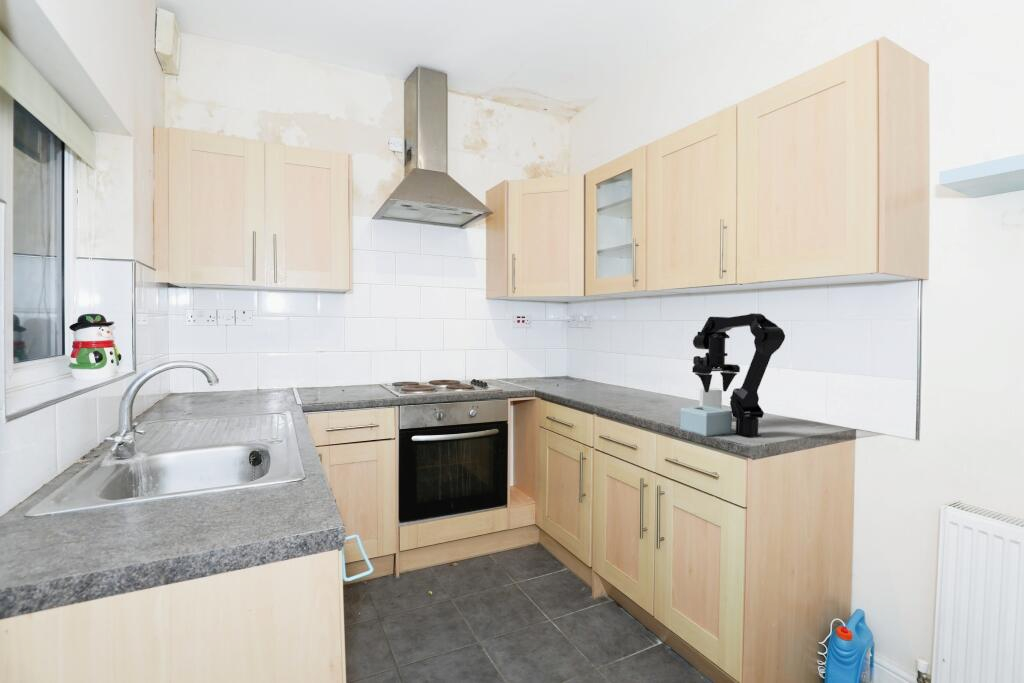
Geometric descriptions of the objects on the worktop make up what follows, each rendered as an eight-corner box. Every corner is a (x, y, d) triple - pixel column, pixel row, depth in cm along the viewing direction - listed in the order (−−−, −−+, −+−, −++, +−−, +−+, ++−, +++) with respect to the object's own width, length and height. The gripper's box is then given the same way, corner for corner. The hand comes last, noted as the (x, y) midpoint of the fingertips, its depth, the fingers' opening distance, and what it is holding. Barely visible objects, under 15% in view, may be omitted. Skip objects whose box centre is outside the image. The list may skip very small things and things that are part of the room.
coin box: (731, 433, 178) (731, 410, 178) (706, 436, 173) (706, 413, 173) (705, 427, 189) (705, 405, 189) (680, 429, 184) (680, 407, 184)
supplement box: (721, 422, 199) (722, 390, 199) (701, 421, 201) (702, 389, 200) (717, 419, 206) (718, 388, 206) (698, 418, 208) (699, 387, 208)
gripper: (717, 348, 201) (716, 388, 202) (682, 349, 193) (681, 390, 194) (741, 350, 191) (740, 391, 192) (704, 350, 183) (703, 394, 184)
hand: (715, 391), depth 191 cm, fingers open, 9 cm apart
